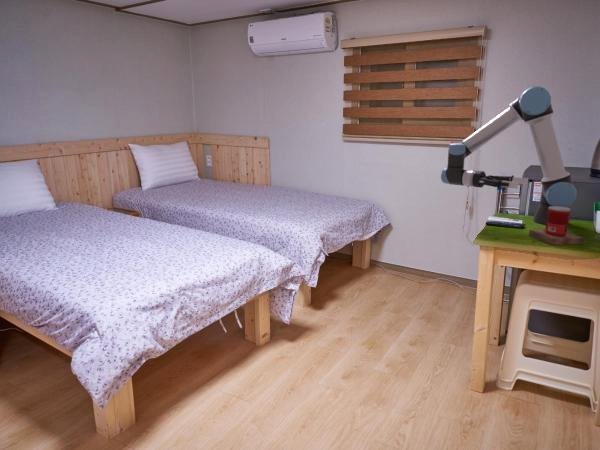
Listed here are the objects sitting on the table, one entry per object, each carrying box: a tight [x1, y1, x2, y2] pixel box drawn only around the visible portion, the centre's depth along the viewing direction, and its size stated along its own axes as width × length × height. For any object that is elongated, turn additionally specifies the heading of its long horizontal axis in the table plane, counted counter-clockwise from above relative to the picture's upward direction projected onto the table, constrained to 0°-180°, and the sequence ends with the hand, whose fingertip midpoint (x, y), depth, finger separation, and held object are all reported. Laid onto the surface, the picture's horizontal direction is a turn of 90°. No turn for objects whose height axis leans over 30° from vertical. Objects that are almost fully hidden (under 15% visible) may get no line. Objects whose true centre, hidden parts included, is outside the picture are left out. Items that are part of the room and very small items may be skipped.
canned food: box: [544, 206, 572, 236], centre depth 189 cm, size 8×8×11 cm
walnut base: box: [528, 229, 584, 246], centre depth 190 cm, size 14×14×2 cm
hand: (522, 183), depth 199 cm, fingers open, 13 cm apart
